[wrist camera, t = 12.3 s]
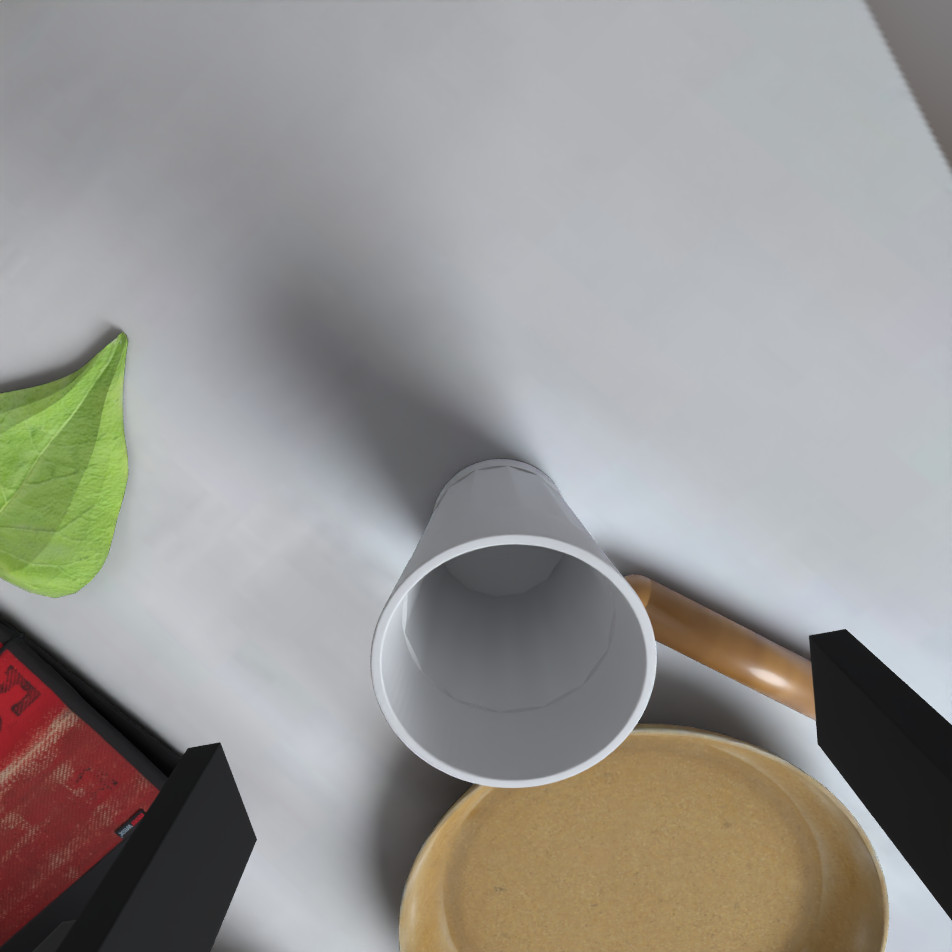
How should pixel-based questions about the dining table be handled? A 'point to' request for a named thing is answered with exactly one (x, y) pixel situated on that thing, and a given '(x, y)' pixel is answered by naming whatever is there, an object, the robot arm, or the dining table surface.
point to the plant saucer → (650, 859)
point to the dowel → (727, 646)
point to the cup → (511, 637)
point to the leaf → (62, 475)
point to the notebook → (63, 790)
